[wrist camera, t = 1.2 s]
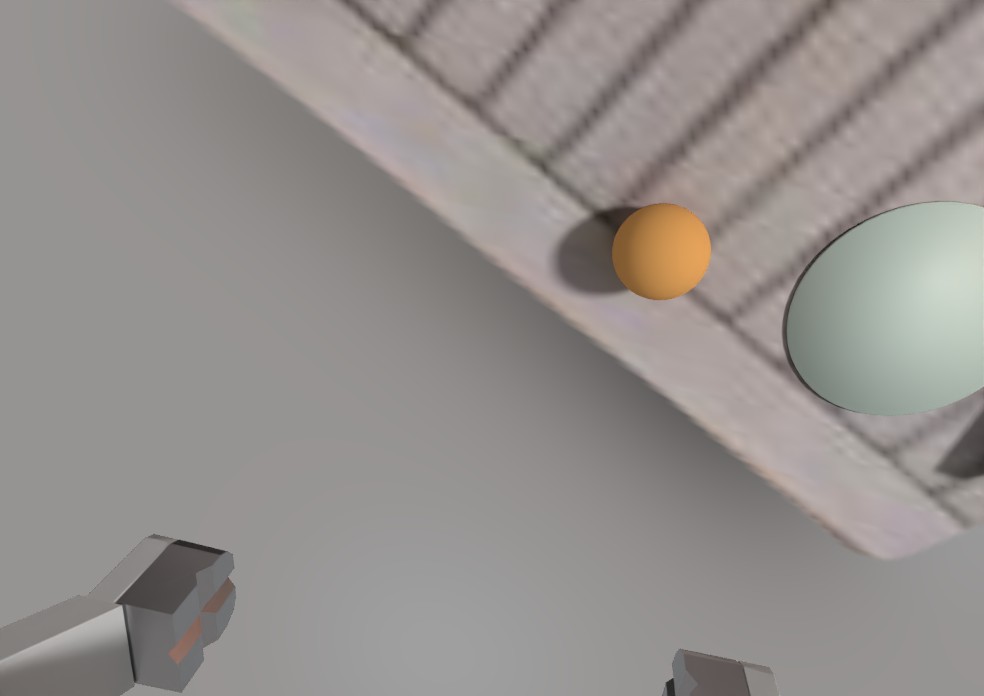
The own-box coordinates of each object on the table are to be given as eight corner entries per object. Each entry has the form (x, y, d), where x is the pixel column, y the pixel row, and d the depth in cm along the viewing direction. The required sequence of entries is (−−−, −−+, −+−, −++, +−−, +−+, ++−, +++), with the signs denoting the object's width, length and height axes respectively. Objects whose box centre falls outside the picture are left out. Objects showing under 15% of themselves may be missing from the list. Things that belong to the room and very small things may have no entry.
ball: (624, 184, 34) (630, 208, 30) (715, 203, 34) (734, 231, 30) (600, 269, 37) (602, 303, 32) (685, 287, 37) (699, 324, 32)
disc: (846, 177, 33) (847, 178, 33) (1099, 231, 32) (1102, 232, 32) (752, 387, 39) (753, 388, 39) (964, 434, 39) (965, 436, 38)
